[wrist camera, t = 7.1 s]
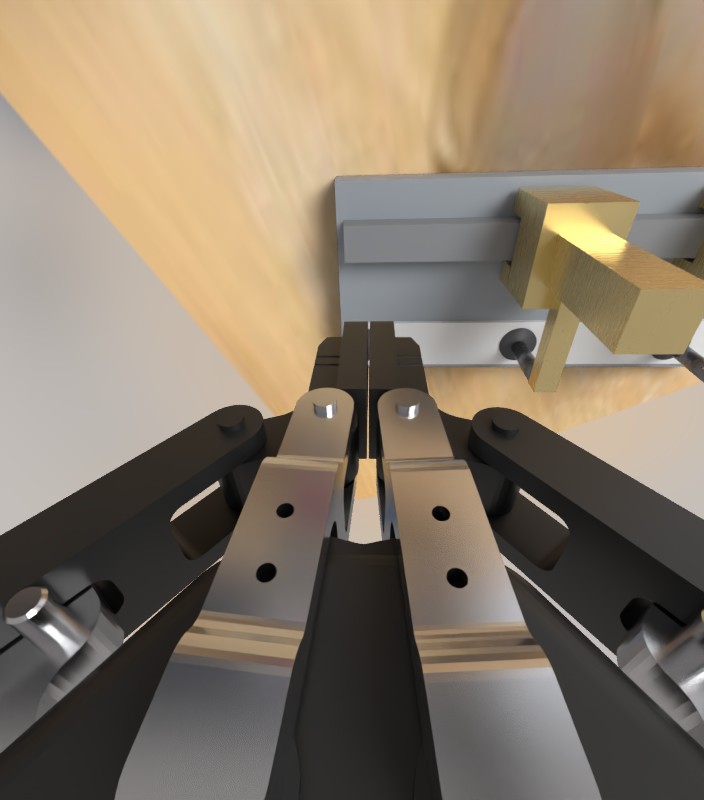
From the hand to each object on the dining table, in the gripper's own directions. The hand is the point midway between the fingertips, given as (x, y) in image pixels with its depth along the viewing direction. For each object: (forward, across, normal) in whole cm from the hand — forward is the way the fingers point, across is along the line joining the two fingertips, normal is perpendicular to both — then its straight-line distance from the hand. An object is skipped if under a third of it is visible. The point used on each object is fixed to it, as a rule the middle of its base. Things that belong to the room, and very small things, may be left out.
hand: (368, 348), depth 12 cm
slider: (+13, -10, +3) cm, 17 cm away
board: (+16, -11, +3) cm, 19 cm away
